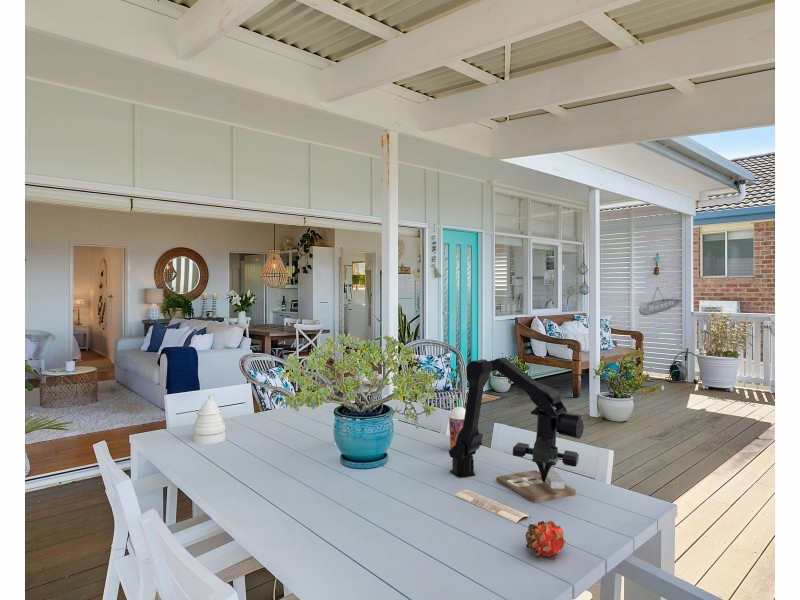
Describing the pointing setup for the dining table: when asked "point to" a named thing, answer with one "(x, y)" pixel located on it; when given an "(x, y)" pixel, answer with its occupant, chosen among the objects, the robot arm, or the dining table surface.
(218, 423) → the honey pot
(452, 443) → the smoothie
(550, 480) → the swing bar
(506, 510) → the beige long curved strip
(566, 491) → the label board
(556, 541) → the dragon fruit
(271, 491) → the dining table surface
